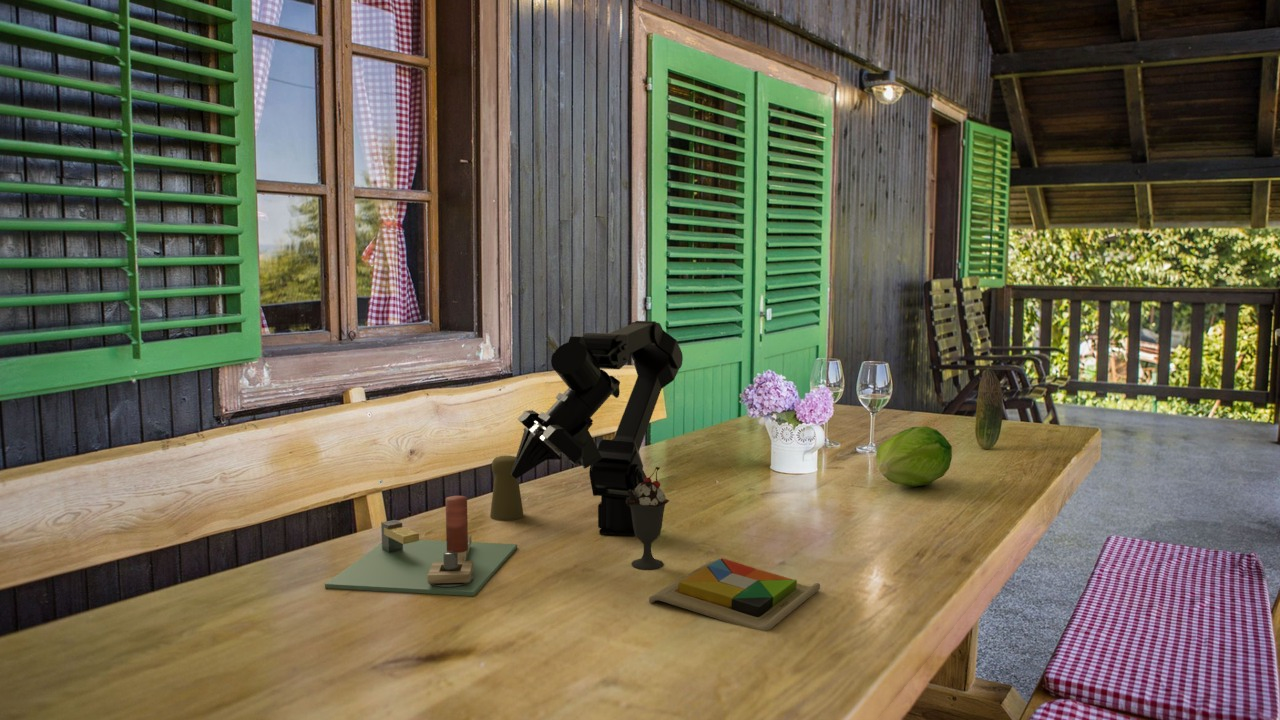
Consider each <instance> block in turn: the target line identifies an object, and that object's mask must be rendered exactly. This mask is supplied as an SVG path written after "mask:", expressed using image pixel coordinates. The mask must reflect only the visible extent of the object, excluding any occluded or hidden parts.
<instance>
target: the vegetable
mask: <svg viewBox="0 0 1280 720" xmlns="http://www.w3.org/2000/svg"><path fill="white" fill-rule="evenodd" d="M977 391H978V393H977V399H976V401H977V402H976V410H975V412H976V413H975V427H974V429H975V430H974V431H975V433H974V434H975V439H976V443H977V444H978V446H979V447H980V448H981V449H984V450H990V449H991V448H993V447H994V446H995V445H996V444H997V443H998V440H999V438H1000V434H1001V429H1002V425H1003V417H1004V416H1003V415H1004V414H1003V413H1004V406H1003V405H1004V404H1003V403H1004V402H1003V392H1002V385H1001V382H1000V380H999V378H998V376H997V375H996V372H995V371H994V370H993V369H992V368H990V367H988V368H985V369H984V370H983V372H982V376H981V378H980V381H979V385H978V390H977Z"/></svg>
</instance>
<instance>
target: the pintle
mask: <svg viewBox="0 0 1280 720" xmlns="http://www.w3.org/2000/svg"><path fill="white" fill-rule="evenodd" d="M443 557H444V572H445V571H458V552H456V551H447V552H444V553H443ZM473 580H474V576H473V574H472V575H471V579H470V582H466V583H429V584H430V585H432V586H435V587H440V588H453V587H460V586H464V585H467V584H469V583H471V582H472V581H473Z"/></svg>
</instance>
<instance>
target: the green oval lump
mask: <svg viewBox="0 0 1280 720" xmlns="http://www.w3.org/2000/svg"><path fill="white" fill-rule="evenodd" d="M952 448H953V447H952V445H951V443H950V442H949V441H948V440H947V438H946V437H945V436H944V435H943V434H942V433H941V432H940V431H939V430H938V429H935V428H933V427H931V426H914V427H910V428H907V429H904V430H902V431H900V432H898V433H897V434H895V435H893V436H892V437H890V438H888V439H887V440H885V441H884V442H883V443H882V444H879V446H877V448H876V455H875V459H876V464H877V465H876V466H877V468H878V471H879V473H880V474H881V475H882V476H883V477H884V478H886V479H887V480H888V482H890V483H893V484H898V485H900V486H901V485H902V486H906V487H920V486H926V485H930V484H932V483H933V482H935V481H936V480H938V479H941V478H942V477H943V476H945V475H946V473H947V472H948V470H949V469H950V468H951V467H950V466H951V463H952V462H951V461H952V455H953V451H952V450H953V449H952Z"/></svg>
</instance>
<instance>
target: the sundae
mask: <svg viewBox="0 0 1280 720" xmlns="http://www.w3.org/2000/svg"><path fill="white" fill-rule="evenodd" d="M660 469H661V468H660V467H659V466H655V469H654V471H653V473H652V474H651V475H650V476H649V477H647V478H645V480H644V481H643V482H642V483H639V485H638V486H637V487H636V488H635V491H634V494H633V492H632V491H631V489H629V490H628V491H627V492H628V495H629V496H630V497H628V498H627V499H626V504H627V506H630V508H631V513H632V521H633V528H634V533H635V537H636V539H638V540H639V541H641V543H642V544H643V553H642V555H641V558H637V559H634V560H632V562H631V567H633V568H635V569H639V570H644V571H645V570H648V571H651V570H658V569H660V568H662V567H663V566H664V562H663V560H661V559H657V558H655V557H654V556H653V553H652V543H653V542H655V540H657V539H658V538H659V536H661V532H662V528H663V521H664V520H663V519H664V513H665V508H666V507H665V506H666V504H668V503H669V502H670V500H669V499H667V498H666V494H665V492H664V491H663V489H661V482H660V481H658V471H659V470H660ZM654 474H655V480H654V481H653V482H652V479H651V478H652V476H653V475H654Z"/></svg>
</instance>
